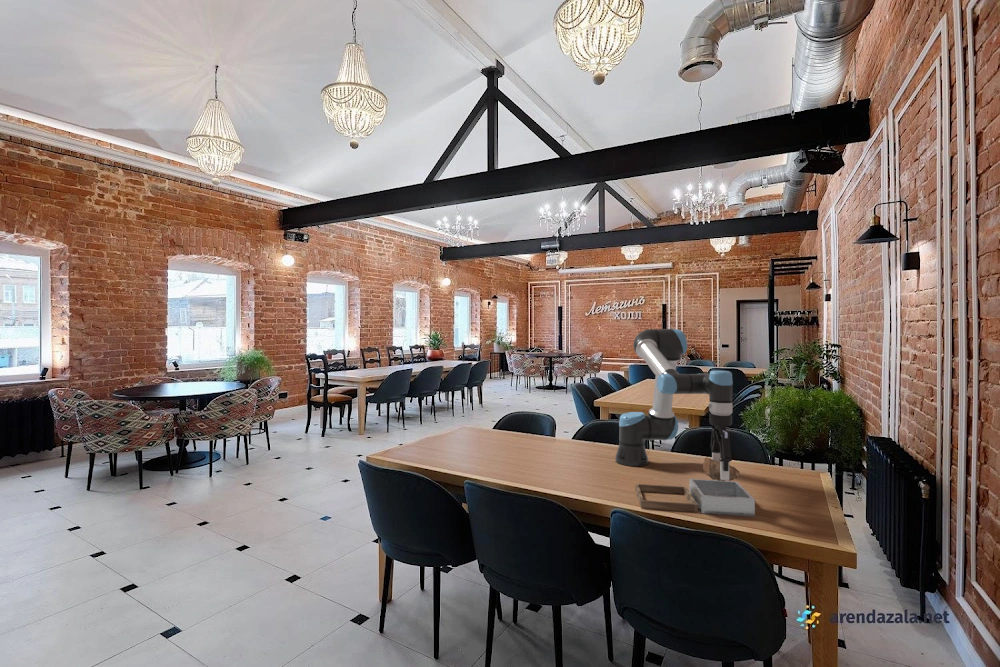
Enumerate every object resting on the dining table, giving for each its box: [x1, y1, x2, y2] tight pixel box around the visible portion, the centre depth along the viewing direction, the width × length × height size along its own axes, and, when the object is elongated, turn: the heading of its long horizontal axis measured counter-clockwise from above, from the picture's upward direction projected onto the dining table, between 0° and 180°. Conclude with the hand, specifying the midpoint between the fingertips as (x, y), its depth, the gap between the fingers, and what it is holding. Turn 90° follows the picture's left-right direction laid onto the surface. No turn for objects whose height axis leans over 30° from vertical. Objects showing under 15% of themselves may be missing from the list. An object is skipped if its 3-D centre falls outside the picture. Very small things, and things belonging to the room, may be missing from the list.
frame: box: [635, 483, 699, 513], centre depth 174 cm, size 19×19×2 cm
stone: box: [702, 456, 741, 481], centre depth 169 cm, size 10×11×10 cm
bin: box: [688, 478, 756, 518], centre depth 170 cm, size 19×17×6 cm
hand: (720, 475), depth 169 cm, fingers closed on stone, 10 cm apart
